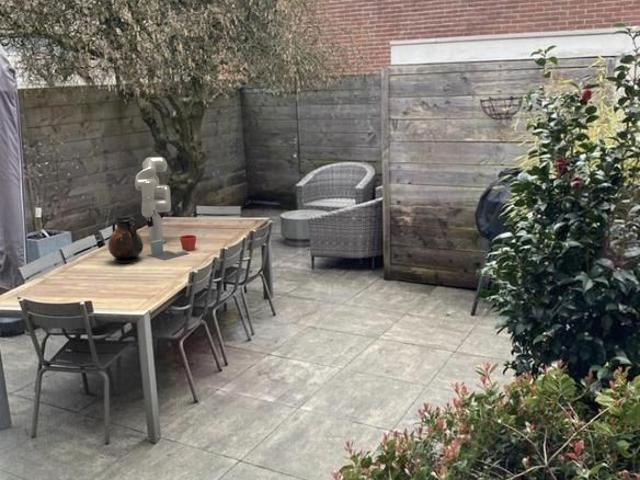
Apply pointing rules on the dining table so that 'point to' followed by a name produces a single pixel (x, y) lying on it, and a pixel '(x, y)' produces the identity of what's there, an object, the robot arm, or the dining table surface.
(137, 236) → the amphora vase
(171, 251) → the tile
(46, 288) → the dining table surface
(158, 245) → the tile
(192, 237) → the flower pot
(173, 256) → the mat
